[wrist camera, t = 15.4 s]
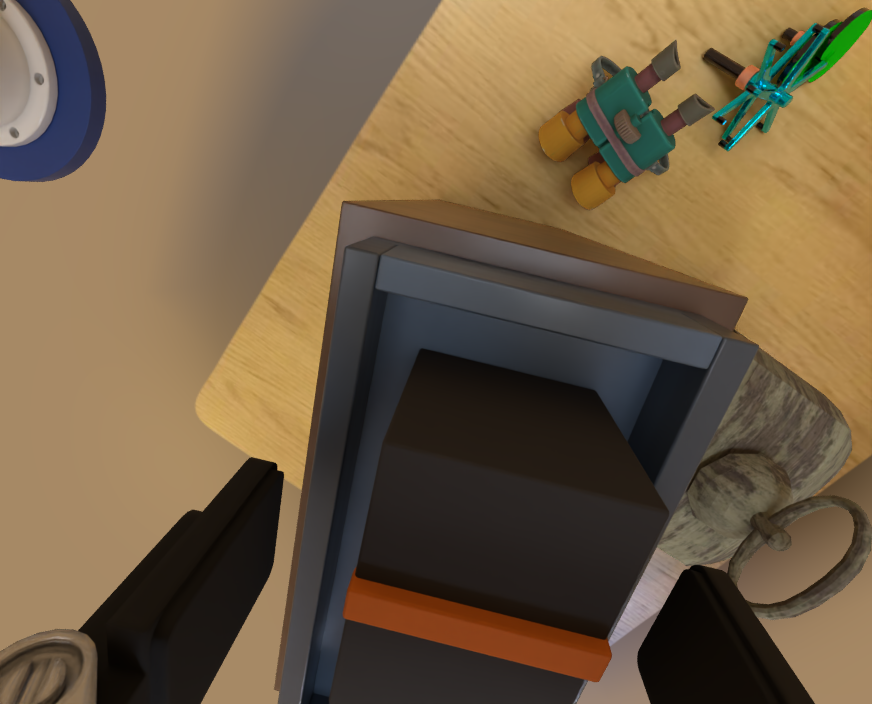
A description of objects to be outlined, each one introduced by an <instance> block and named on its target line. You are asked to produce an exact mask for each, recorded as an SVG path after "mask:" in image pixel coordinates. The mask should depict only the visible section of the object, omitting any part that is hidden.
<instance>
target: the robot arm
mask: <svg viewBox="0 0 872 704" xmlns="http://www.w3.org/2000/svg"><path fill="white" fill-rule="evenodd" d="M57 97H58V85H57V75H56V70H55V65H54V61H53V58H52V55H51V52H50V49H49V47H48V45H47V43H46V41H45V39H44V37H43V35H42V33H41V31H40V29H39V28H38V26H37V25H36V23H35V22H34V20H33V19H32V18H31V16H30V15H29V14H28V13H27V12H26V11H25V9H24V8H23V7H22V6H21V5H20V4H19V3H18V2H17V1H16V0H0V146H2V147H17V146H22V145H26V144H28V143H30V142H32V141H34V140H36V139H37V138H38V137H40V136H41V135H42V134H43V133H44V132H45V131H46V129H47V127H48V126H49V124H50V123H51V121H52V118H53V116H54V113H55V110H56V104H57ZM283 480H284V472H282V471H278V470H277V464H276V463H274V462H270V461H265V460H261V459H257V458H253V457H251V458H249V459H248V460H247V461H246V462H245V463H244V464H243V466H242V467H241V468H240V469H239V470H238V472H237V473H236V474H235V475H234V476H233V477H232V478H231V479H230V481H229V482H228V483H227V484H226V485H225V486H224V488H223V489H222V490H221V491H220V492H219V493H218V495H217V496H216V497H215V498H214V499H213V500H212V502H211V503H210V504H209V505H208V506H207V507H206V508H205V510H204V511H203V512H201V511H197V510H191V511H189V512H187V513H186V514H185V515H184V516H183V517H182V518H181V519H180V520H179V521H178V522H177V523H176V524H175V525H174V527H172V528H171V530H170V531H169V532H168V533H167V534H166V535H165V536H164V537H163V538H162V539H161V540H160V542H159V543H158V544H157V545H156V546H155V547H154V548H153V549H152V550H151V551H150V553H149V554H148V555H147V556H146V557H145V558H144V559H143V560H142V561H141V562H140V563H139V565H138V566H137V567H136V568H135V569H134V570H133V571H132V572H131V573H130V574H129V575H128V577H127V578H126V579H125V580H124V581H123V582H122V583H121V584H120V585H119V586H118V588H117V589H116V590H115V591H114V592H113V593H112V594H111V595H110V597H108V598H107V600H106V601H105V602H104V603H103V604H102V605H101V606H100V607H99V609H97V611H96V612H95V613H94V614H93V615H92V616H91V617H90V618H89V619H88V620H87V621H86V623H85V624H84V625H83V626H82V627H81V628H80V629H79V630H78V631H76V630H69V629H55V630H50V631H45V632H40V633H37V634H34V635H32V636H29V637H27V638H24V639H21V640H19V641H17V642H15V643H13V644H12V645H10V646H8V647H7V648H5V649H3V650H2V651H0V704H201V702H202V700H203V698H204V696H205V694H206V693H207V691H208V689H209V687H210V685H211V683H212V681H213V680H214V678H215V676H216V674H217V672H218V670H219V668H220V667H221V665H222V663H223V661H224V659H225V657H226V655H227V654H228V652H229V650H230V648H231V646H232V644H233V643H234V641H235V639H236V637H237V635H238V633H239V631H240V629H241V628H242V626H243V624H244V622H245V620H246V619H247V617H248V615H249V613H250V611H251V609H252V607H253V605H254V604H255V602H256V600H257V598H258V596H259V595H260V593H261V591H262V589H263V587H264V585H265V583H266V582H267V580H268V578H269V575H270V573H271V570H272V566H273V563H274V554H275V546H276V538H277V530H278V521H279V513H280V505H281V496H282V488H283ZM637 657H638V658H637V662H638V668H639V672H640V675H641V677H642V680H643V683H644V686H645V689H646V692H647V694H648V697H649V700H650V703H651V704H815V703H814V702H813V700H812V699H811V697H810V696H809V694H808V693H807V691H806V690H805V688H804V687H803V685H802V684H801V682H800V681H799V679H798V678H797V676H796V675H795V673H794V672H793V670H792V669H791V667H790V666H789V664H788V663H787V661H786V660H785V658H784V657H783V655H782V654H781V652H780V651H779V649H778V648H777V646H776V645H775V643H774V642H773V640H772V639H771V637H770V636H769V634H768V633H767V631H766V630H765V628H764V627H763V626H762V624H761V623H760V621H759V620H758V618H757V617H756V615H755V614H754V612H753V611H752V609H751V608H750V606H749V605H748V603H747V602H746V600H745V599H744V597H743V596H742V594H741V593H740V591H739V590H738V588H737V587H736V585H735V584H734V582H733V581H732V579H731V578H730V576H729V575H728V574H727V573H726V572H724V571H722V570H718V569H714V568H710V567H706V566H702V565H693V566H691V567H690V569H686V570H684V571H683V572H682V573H681V575H680V577H679V579H678V580H677V582H676V584H675V586H674V588H673V589H672V591H671V593H670V595H669V597H668V598H667V600H666V602H665V604H664V605H663V607H662V609H661V611H660V613H659V615H658V616H657V618H656V620H655V622H654V624H653V625H652V627H651V629H650V631H649V632H648V634H647V636H646V638H645V640H644V641H643V643H642V645H641V647H640V649H639V651H638V656H637Z"/></svg>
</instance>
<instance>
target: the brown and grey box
mask: <svg viewBox="0 0 872 704" xmlns="http://www.w3.org/2000/svg"><path fill="white" fill-rule="evenodd" d="M747 301H748V298H747V297H744V296H742V295H739V294H736V293H733V292H731V291H728V290H725V289H723V288H720V287H717V286H714V285H712V284H709V283H706V282H704V281H701V280H698V279H695V278H693V277H690V276H687V275H685V274H682V273H679V272H676V271H674V270H671V269H668V268H666V267H663V266H660V265H657V264H655V263H652V262H649V261H647V260H644V259H641V258H638V257H636V256H633V255H630V254H628V253H625V252H622V251H619V250H617V249H614V248H611V247H609V246H606V245H603V244H600V243H598V242H595V241H592V240H590V239H587V238H584V237H581V236H579V235H576V234H573V233H571V232H568V231H565V230H563V229H559V228H555V227H551V226H547V225H542V224H538V223H534V222H530V221H526V220H521V219H517V218H513V217H509V216H505V215H500V214H496V213H492V212H488V211H484V210H480V209H475V208H471V207H467V206H463V205H459V204H454V203H450V202H446V201H442V200H382V201H343V202H342V207H341V214H340V221H339V228H338V235H337V242H336V250H335V257H334V264H333V271H332V278H331V285H330V293H329V300H328V307H327V314H326V321H325V328H324V336H323V343H322V350H321V357H320V364H319V371H318V379H317V386H316V393H315V400H314V407H313V414H312V422H311V429H310V436H309V443H308V450H307V457H306V465H305V472H304V479H303V486H302V493H301V500H300V508H299V516H298V522H297V529H296V537H295V543H294V551H293V558H292V565H291V572H290V580H289V586H288V594H287V601H286V608H285V615H284V622H283V630H282V637H281V644H280V651H279V658H278V665H277V673H276V680H275V687H274V689H275V690H277V691H279V698H278V704H329V696H330V691H331V687H332V682H333V677H334V672H335V667H336V663H337V658H338V653H339V648H340V643H341V639H342V634H343V629H344V624H345V620H346V619H345V618H344V617H343V609H344V604H345V599H346V594H347V589H348V586H349V583H350V580H351V577H352V574H353V571H354V569H355V568H356V567H357V562H358V557H359V552H360V548H361V543H362V538H363V533H364V528H365V524H366V519H367V514H368V509H369V504H370V500H371V495H372V490H373V485H374V480H375V476H376V471H377V466H378V461H379V456H380V452H381V447H382V442H383V440H384V437H385V435H386V432H387V430H388V427H389V425H390V422H391V420H392V417H393V415H394V412H395V410H396V407H397V405H398V402H399V400H400V397H401V395H402V392H403V390H404V387H405V385H406V382H407V380H408V377H409V375H410V372H411V370H412V367H413V365H414V362H415V360H416V358H417V355H418V353H419V350H420V349H421V348H423V349H427V350H431V351H436V352H440V353H444V354H448V355H452V356H456V357H460V358H464V359H468V360H472V361H476V362H481V363H485V364H489V365H493V366H497V367H501V368H505V369H509V370H513V371H517V372H522V373H526V374H530V375H534V376H538V377H542V378H546V379H550V380H554V381H558V382H563V383H567V384H571V385H575V386H579V387H583V388H587V389H591V390H595V391H597V393H598V395H599V396H600V398H601V399H602V401H603V403H604V404H605V406H606V408H607V409H608V411H609V413H610V414H611V416H612V418H613V419H614V421H615V423H616V424H617V426H618V428H619V429H620V431H621V432H622V434H623V436H624V437H625V439H626V441H627V442H628V444H629V446H630V447H631V449H632V451H633V452H634V454H635V456H636V457H637V459H638V460H639V462H640V464H641V465H642V467H643V469H644V470H645V472H646V474H647V475H648V477H649V479H650V480H651V482H652V484H653V485H654V487H655V489H656V490H657V492H658V493H659V495H660V497H661V498H662V500H663V502H664V503H665V505H666V507H667V508H668V510H669V517H668V519H667V521H666V523H665V525H664V527H663V529H662V531H661V532H660V534H659V536H658V538H657V540H656V542H655V544H654V546H653V548H652V550H651V552H650V554H649V556H648V558H647V560H646V562H645V564H644V566H643V568H642V570H641V572H640V574H639V576H638V578H637V579H636V581H635V583H634V585H633V587H632V589H631V591H630V593H629V595H628V597H627V599H626V601H625V603H624V605H623V607H622V609H621V611H620V613H619V615H618V617H617V619H616V621H615V623H614V625H613V626H612V628H611V630H610V632H609V634H608V636H607V639H608V641H609V639H610V637H611V635H612V633H613V631H614V629H615V627H616V625H617V623H618V621H619V620H620V618H621V616H622V614H623V612H624V610H625V608H626V606H627V604H628V602H629V600H630V598H631V596H632V594H633V592H634V590H635V588H636V586H637V585H638V583H639V581H640V579H641V577H642V575H643V573H644V571H645V569H646V567H647V565H648V563H649V561H650V559H651V557H652V555H653V553H654V551H655V550H656V548H657V546H658V544H659V542H660V540H661V538H662V536H663V534H664V532H665V530H666V528H667V526H668V524H669V522H670V520H671V518H672V517H673V515H674V513H675V511H676V509H677V507H678V505H679V503H680V501H681V499H682V497H683V495H684V493H685V491H686V489H687V487H688V485H689V483H690V482H691V480H692V478H693V476H694V474H695V472H696V470H697V468H698V466H699V464H700V462H701V460H702V458H703V456H704V454H705V452H706V450H707V448H708V447H709V445H710V443H711V441H712V439H713V437H714V435H715V433H716V431H717V429H718V427H719V425H720V423H721V421H722V419H723V417H724V415H725V413H726V412H727V410H728V408H729V406H730V404H731V402H732V400H733V398H734V396H735V394H736V392H737V390H738V388H739V386H740V384H741V382H742V380H743V378H744V377H745V375H746V373H747V371H748V369H749V367H750V365H751V363H752V361H753V359H754V357H755V355H756V353H757V351H758V349H759V345H757V344H756V343H754V342H752V341H750V340H748V339H746V338H744V337H742V336H740V335H739V334H737V333H735V332H733V330H734V328H735V326H736V324H737V322H738V320H739V318H740V316H741V314H742V312H743V309H744V307H745V305H746V303H747ZM587 682H588V680H585V681H584V683H583V685H582V687H581V689H580V691H579V693H578V695H577V697H576V699H575V701H574V703H573V704H576V703H577V701H578V699H579V697H580V695H581V693H582V691H583V690H584V687H585V686H586V684H587Z"/></svg>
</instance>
